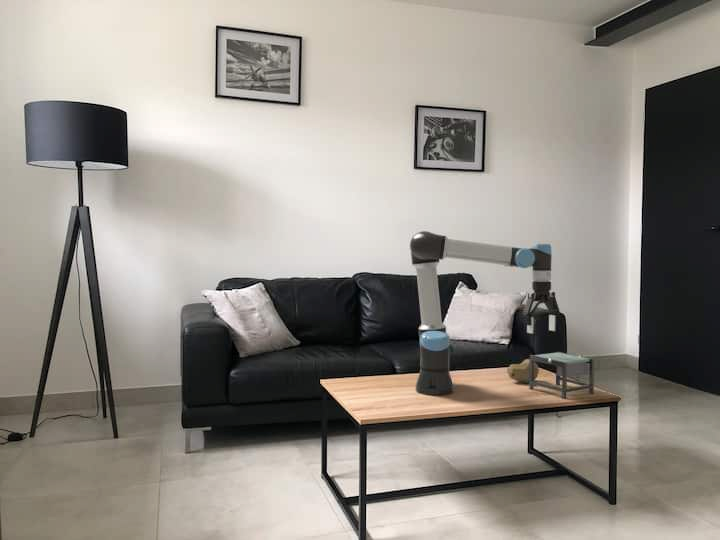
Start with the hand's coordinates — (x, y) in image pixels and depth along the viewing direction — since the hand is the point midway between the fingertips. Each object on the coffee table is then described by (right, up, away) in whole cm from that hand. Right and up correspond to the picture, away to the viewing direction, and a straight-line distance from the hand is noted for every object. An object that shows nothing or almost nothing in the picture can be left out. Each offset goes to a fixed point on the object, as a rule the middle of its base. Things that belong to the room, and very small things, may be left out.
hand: (541, 331), depth 248 cm
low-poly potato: (-5, -23, +9) cm, 25 cm away
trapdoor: (+6, -15, -8) cm, 18 cm away
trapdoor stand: (+6, -23, -7) cm, 25 cm away
